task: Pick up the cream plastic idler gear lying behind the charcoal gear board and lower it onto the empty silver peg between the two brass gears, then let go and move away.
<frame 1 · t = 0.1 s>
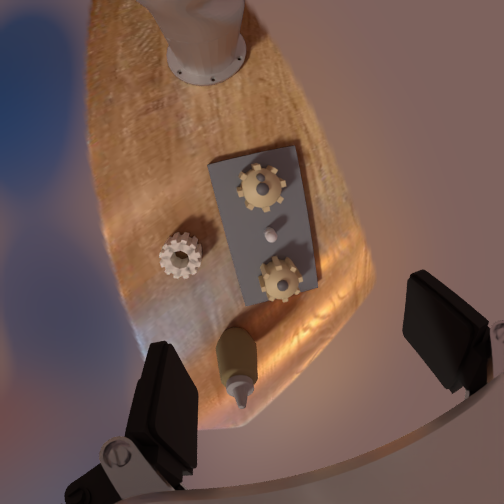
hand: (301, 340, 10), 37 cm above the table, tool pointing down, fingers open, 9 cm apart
squeeze bottle: (235, 337, 55), on the table
cream idler gear: (182, 250, 46), on the table
gear board: (267, 229, 46), on the table
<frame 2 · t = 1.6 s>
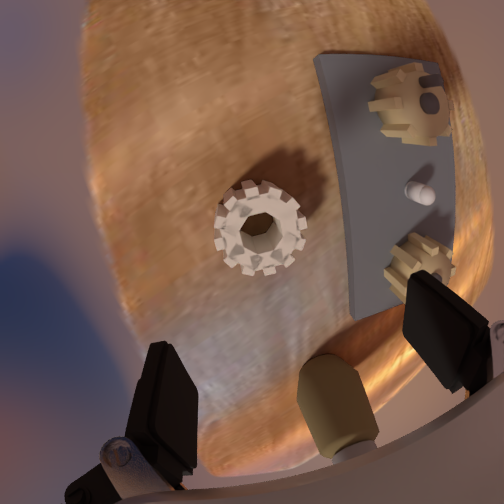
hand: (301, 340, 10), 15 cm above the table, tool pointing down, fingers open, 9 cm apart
squeeze bottle: (320, 368, 32), on the table
cream idler gear: (255, 218, 23), on the table
gear board: (401, 186, 23), on the table
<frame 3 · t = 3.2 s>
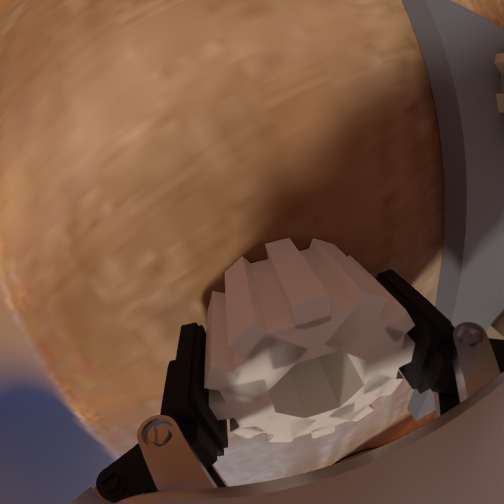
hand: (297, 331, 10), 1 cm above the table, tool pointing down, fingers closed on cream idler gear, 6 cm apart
cream idler gear: (291, 316, 11), on the table, touching gripper
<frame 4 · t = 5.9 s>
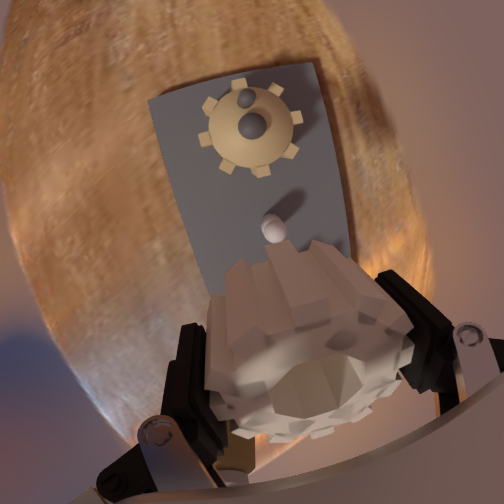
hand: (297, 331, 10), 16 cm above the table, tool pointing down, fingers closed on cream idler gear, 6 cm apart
squeeze bottle: (221, 391, 33), on the table
cream idler gear: (291, 317, 11), point 15 cm above the table, touching gripper
gear board: (267, 218, 25), on the table
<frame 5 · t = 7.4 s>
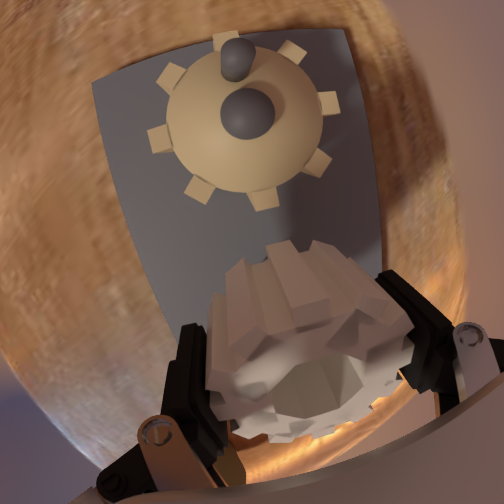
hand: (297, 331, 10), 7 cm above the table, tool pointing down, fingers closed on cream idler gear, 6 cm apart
squeeze bottle: (207, 445, 25), on the table
cream idler gear: (291, 318, 11), point 6 cm above the table, touching gripper
gear board: (268, 259, 17), on the table
when the fingers open (3 cm above the table, at t = 8.8 s): cream idler gear stays where it is, resting on gear board.
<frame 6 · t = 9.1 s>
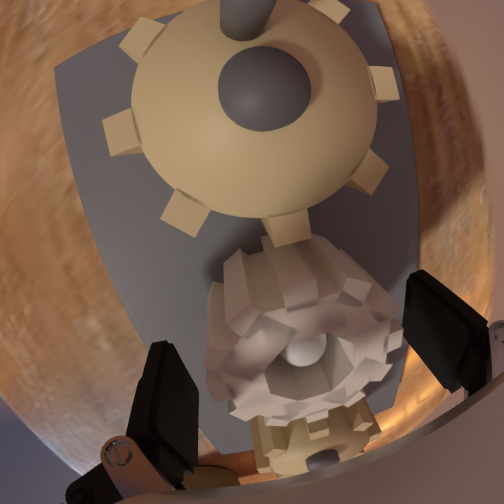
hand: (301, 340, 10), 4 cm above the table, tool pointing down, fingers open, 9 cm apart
squeeze bottle: (207, 472, 21), on the table
cream idler gear: (286, 306, 12), point 1 cm above the table, touching gear board
gear board: (280, 289, 13), on the table
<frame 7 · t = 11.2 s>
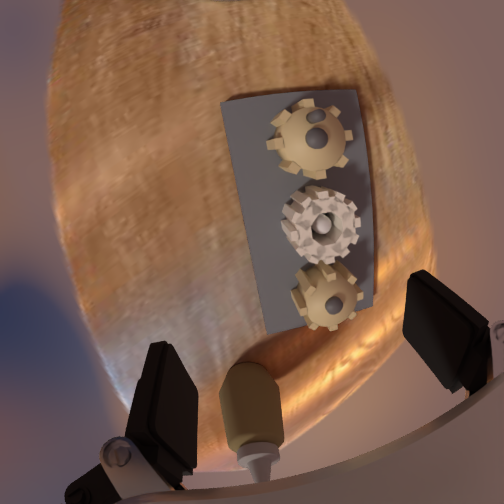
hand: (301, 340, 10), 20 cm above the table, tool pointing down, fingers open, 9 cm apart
squeeze bottle: (246, 374, 36), on the table
cream idler gear: (313, 218, 27), point 1 cm above the table, touching gear board
gear board: (309, 215, 29), on the table
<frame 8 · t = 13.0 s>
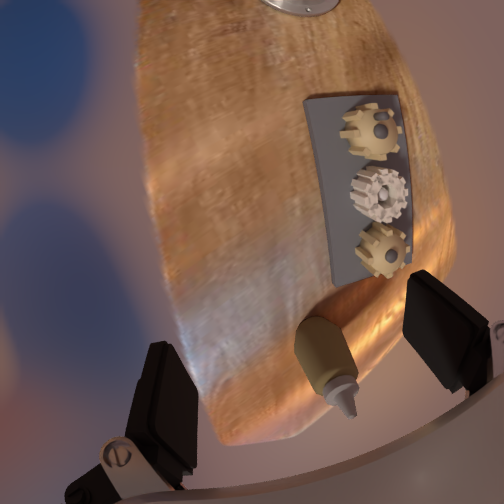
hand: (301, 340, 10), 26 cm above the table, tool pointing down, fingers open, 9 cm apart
squeeze bottle: (312, 329, 43), on the table
cream idler gear: (371, 190, 33), point 1 cm above the table, touching gear board
gear board: (366, 188, 35), on the table
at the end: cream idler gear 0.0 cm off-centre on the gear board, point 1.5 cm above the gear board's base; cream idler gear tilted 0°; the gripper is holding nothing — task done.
